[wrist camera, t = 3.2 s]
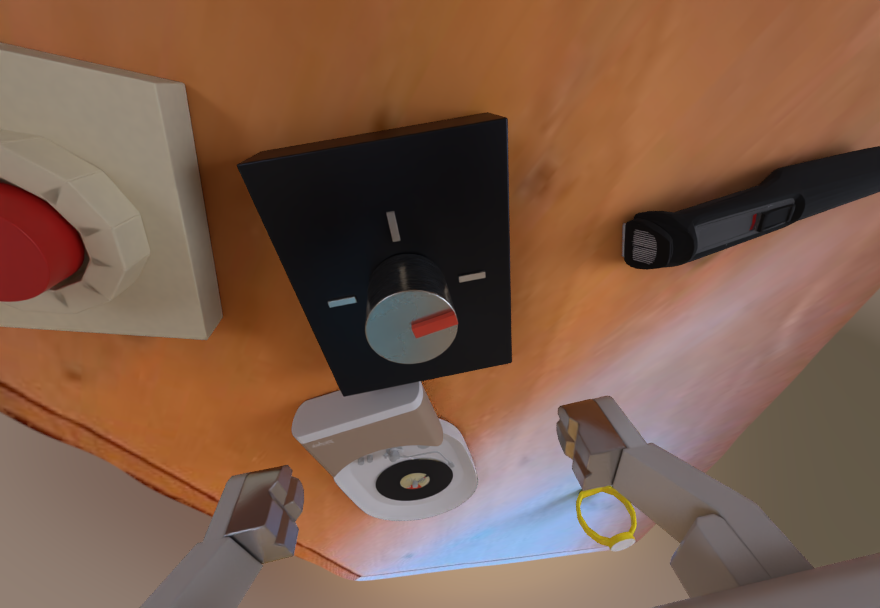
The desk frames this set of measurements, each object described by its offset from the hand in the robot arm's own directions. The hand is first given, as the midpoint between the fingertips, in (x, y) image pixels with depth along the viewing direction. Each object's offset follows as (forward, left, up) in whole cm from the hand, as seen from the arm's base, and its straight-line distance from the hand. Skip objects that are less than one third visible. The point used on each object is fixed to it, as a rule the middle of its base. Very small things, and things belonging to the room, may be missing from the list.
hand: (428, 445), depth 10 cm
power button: (-6, -14, -8) cm, 17 cm away
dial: (0, 0, -9) cm, 9 cm away
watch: (+34, +16, -12) cm, 39 cm away
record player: (+19, -4, -12) cm, 23 cm away
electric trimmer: (0, +21, -12) cm, 24 cm away
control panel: (0, 0, -12) cm, 12 cm away
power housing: (-6, -14, -12) cm, 19 cm away
